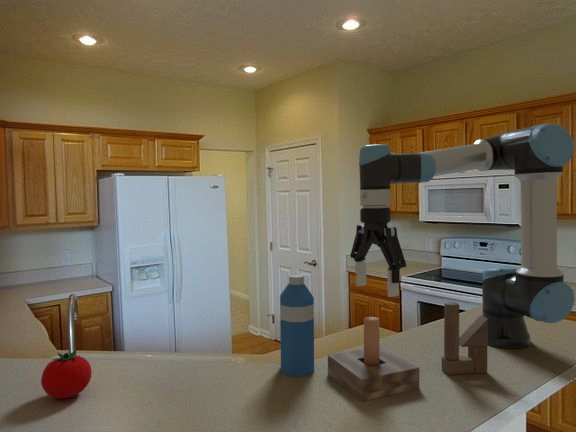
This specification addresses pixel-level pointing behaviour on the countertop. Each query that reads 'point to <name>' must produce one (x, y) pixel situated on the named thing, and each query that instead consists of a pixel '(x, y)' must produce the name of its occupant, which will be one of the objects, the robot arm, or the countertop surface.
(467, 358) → the wooden block structure
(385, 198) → the robot arm
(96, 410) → the countertop surface
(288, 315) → the water bottle
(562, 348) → the countertop surface
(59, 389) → the tomato
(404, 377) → the socket block
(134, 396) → the countertop surface
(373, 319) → the pin
